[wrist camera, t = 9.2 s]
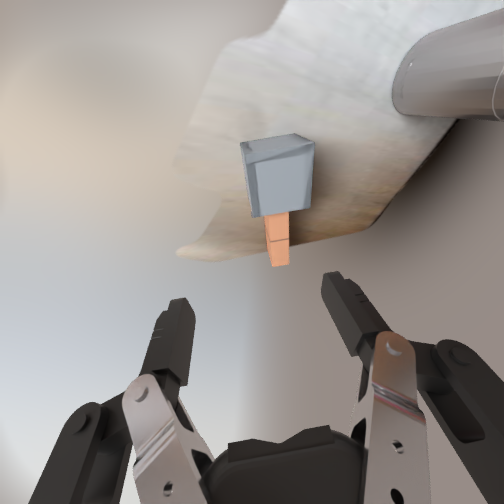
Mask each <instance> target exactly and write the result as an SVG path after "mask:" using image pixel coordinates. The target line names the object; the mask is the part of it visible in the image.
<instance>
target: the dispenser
mask: <svg viewBox="0 0 504 504" xmlns="http://www.w3.org/2000/svg"><path fill="white" fill-rule="evenodd" d="M240 146H241V152H242V159H243V166H244V172H245V179H246V186H247V193H248V198H249V202H250V206H251V210H252V212H251V216H252V218H253V217H254V218H255V217H260V216H266V215H272V214H278V213H283V212H289V211H295V210H301V209H306V208H310V204H311V190H312V176H313V162H314V148H315V143H314V142H312V141H310V140H308V139H306V138H303V137H301V136H299V135H297V134H289V135H283V136H277V137H271V138H265V139H259V140H253V141H247V142H242V143H240Z"/></svg>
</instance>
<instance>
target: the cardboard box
mask: <svg viewBox="0 0 504 504" xmlns="http://www.w3.org/2000/svg"><path fill="white" fill-rule="evenodd" d="M264 219H265V229H266V239H267V249H268V253H269V256H270V260H271V263H272V267H275V266H281V265H286V264H289V212H283V213H278V214H272V215H266V216H264Z"/></svg>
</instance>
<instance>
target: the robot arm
mask: <svg viewBox="0 0 504 504" xmlns="http://www.w3.org/2000/svg"><path fill="white" fill-rule="evenodd" d="M392 99H393V104H394V106H395V108H396V109H397V110H398V111H399V112H400V113H402V114H407V115H419V116H431V117H446V118H460V119H475V120H490V121H504V8H502V9H499V10H496V11H493V12H490V13H487V14H484V15H481V16H478V17H475V18H472V19H469V20H466V21H463V22H460V23H457V24H454V25H451V26H448V27H445V28H442V29H439V30H436V31H434V32H432V33H429V34H428V35H426V36H425V37H423V38H422V39H421V40H420V41H419V42H417V43H416V44H415V45H414V46H413V47H412V49H411V50H410V51H409V52H408V54H407V55H406V57H405V58H404V60H403V61H402V63H401V65H400V67H399V69H398V71H397V74H396V77H395V80H394V84H393V89H392ZM321 295H322V298H323V301H324V303H325V305H326V307H327V309H328V311H329V313H330V315H331V317H332V319H333V321H334V323H335V325H336V327H337V329H338V331H339V333H340V335H341V337H342V339H343V341H344V343H345V345H346V346H347V349H348V351H349V353H350V355H351V356H352V357H353V356H359V357H360V359H361V361H362V363H361V369H360V376H359V383H358V389H357V396H356V402H355V406H354V409H353V412H352V417H351V422H350V428H349V435H348V436H346V435H344V434H342V433H340V432H337V431H334V430H331V429H330V426H329V425H326V426H320V427H315V428H309V429H305V430H302V431H301V432H299V433H298V434H296V435H294V436H293V437H291V438H289V439H288V440H286V441H284V442H283V443H278V444H277V443H273V442H267V441H262V440H257V439H249V440H243V441H238V442H233V443H228V449H227V450H225V451H224V452H223V453H222V454H220V455H219V456H218V457H217V458H216V459H214V457H213V455H212V453H211V452H210V450H209V448H208V446H207V444H206V443H205V441H204V440H203V438H202V437H201V436H200V435H199V433H198V432H197V430H196V428H195V426H194V424H193V422H192V421H191V419H190V417H189V415H188V413H187V411H186V409H185V407H184V405H183V403H182V401H181V400H180V398H179V396H178V395H179V388H180V387H181V386H187V384H188V376H189V368H190V361H191V353H192V346H193V338H194V330H195V322H196V320H195V314H194V311H193V309H192V308H191V306H190V304H189V302H188V300H187V299H186V298H179V299H174V300H171V301H170V304H169V307H168V310H167V311H163V312H162V313H161V315H160V316H159V318H158V319H157V321H156V324H155V327H154V332H153V334H152V337H151V340H150V343H149V346H148V350H147V353H146V356H145V359H144V363H143V366H142V369H141V372H140V374H139V376H138V377H137V378H136V379H135V380H134V381H133V382H132V383H131V384H130V385H129V386H128V388H127V389H126V391H125V392H123V393H121V394H119V395H117V396H116V397H114V398H112V399H110V400H108V401H106V402H104V403H102V404H101V405H100V404H98V403H95V402H89V403H86V404H85V405H83V406H81V407H80V408H78V409H77V410H76V411H75V412H74V413H73V414H72V415H71V416H70V417H69V419H68V420H67V422H66V423H65V425H64V427H63V429H62V431H61V433H60V435H59V437H58V439H57V442H56V444H55V446H54V448H53V450H52V453H51V455H50V457H49V459H48V461H47V464H46V466H45V468H44V470H43V472H42V475H41V477H40V479H39V482H38V484H37V486H36V488H35V490H34V492H33V494H32V497H31V499H30V501H29V503H28V504H119V502H120V498H121V493H122V489H123V485H124V480H125V476H126V471H127V466H128V463H129V458H130V453H131V450H132V445H134V448H135V451H136V456H137V458H136V462H135V463H134V466H133V475H134V480H135V484H136V487H137V491H138V495H139V499H140V502H141V504H431V491H430V475H429V459H428V443H427V427H426V419H425V416H424V414H423V412H422V411H421V410H420V409H419V407H418V403H417V390H418V391H419V393H420V394H421V396H422V397H423V399H424V401H425V402H426V404H427V406H428V407H429V409H430V410H431V412H432V414H433V415H434V417H435V418H436V420H437V422H438V423H439V425H440V427H441V428H442V430H443V432H444V433H445V435H446V436H447V438H448V440H449V441H450V443H451V444H452V446H453V448H454V449H455V451H456V453H457V454H458V456H459V457H460V459H461V460H462V462H463V464H464V466H465V467H466V469H467V470H468V472H469V474H470V475H471V477H472V478H473V480H474V482H475V483H476V485H477V487H478V488H479V490H480V491H481V493H482V495H483V496H484V498H485V500H486V501H487V503H488V504H504V382H503V381H502V380H501V379H500V378H499V377H498V376H497V375H496V373H495V372H494V371H493V370H492V369H491V368H490V367H489V366H488V365H487V364H486V363H485V362H484V361H483V360H482V359H481V357H479V356H478V354H477V353H476V352H475V351H473V350H472V349H470V348H469V347H468V346H466V345H464V344H462V343H460V342H458V341H454V340H447V339H446V340H442V341H440V342H438V343H437V344H436V345H434V344H427V343H420V342H414V341H409V340H407V339H405V338H404V337H403V336H401V335H399V334H397V333H395V332H393V331H392V330H391V329H390V328H389V326H388V325H387V324H386V322H385V321H384V320H383V318H382V317H381V316H380V314H379V313H378V312H377V310H376V309H375V307H374V306H373V305H372V303H371V302H370V301H369V299H368V298H367V296H366V295H364V292H363V291H362V290H361V288H360V287H359V286H358V285H357V284H356V283H355V282H353V281H352V280H350V279H344V278H343V277H342V275H341V274H340V272H338V271H336V272H330V273H325V274H324V275H323V281H322V288H321ZM395 450H397V452H396V451H395ZM171 491H172V493H171Z"/></svg>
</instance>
